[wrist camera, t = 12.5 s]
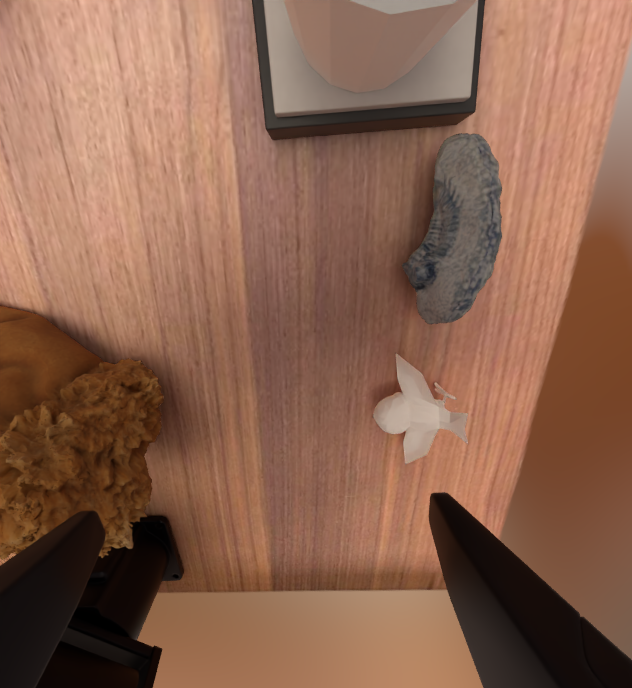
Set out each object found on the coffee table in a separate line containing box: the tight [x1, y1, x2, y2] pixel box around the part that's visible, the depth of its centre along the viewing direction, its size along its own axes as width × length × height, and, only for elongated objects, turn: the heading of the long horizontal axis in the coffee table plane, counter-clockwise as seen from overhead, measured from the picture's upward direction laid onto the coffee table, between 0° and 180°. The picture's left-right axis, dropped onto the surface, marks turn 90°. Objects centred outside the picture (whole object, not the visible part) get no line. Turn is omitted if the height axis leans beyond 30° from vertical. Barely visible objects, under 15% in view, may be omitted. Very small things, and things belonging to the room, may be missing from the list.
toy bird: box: [373, 353, 468, 464], centre depth 19 cm, size 8×5×5 cm, turn 10°
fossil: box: [402, 133, 502, 324], centre depth 15 cm, size 8×4×5 cm, turn 178°
